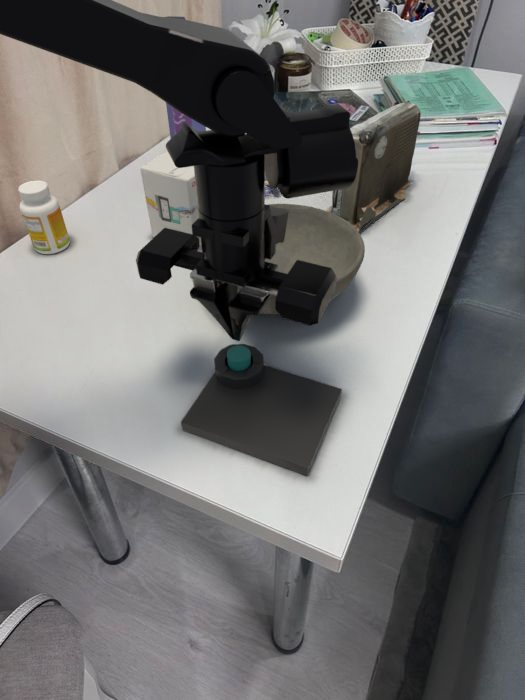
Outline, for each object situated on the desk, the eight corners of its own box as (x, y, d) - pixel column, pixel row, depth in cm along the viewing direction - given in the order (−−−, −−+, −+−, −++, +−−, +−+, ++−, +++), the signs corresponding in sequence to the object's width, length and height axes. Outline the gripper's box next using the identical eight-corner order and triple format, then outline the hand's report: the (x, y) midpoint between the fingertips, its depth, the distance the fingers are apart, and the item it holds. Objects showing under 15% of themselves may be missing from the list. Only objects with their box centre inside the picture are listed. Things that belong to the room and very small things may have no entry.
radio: (389, 171, 97) (405, 86, 87) (430, 185, 93) (451, 98, 82) (312, 218, 85) (319, 126, 75) (355, 237, 81) (369, 142, 70)
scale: (180, 429, 54) (176, 411, 52) (229, 356, 62) (227, 338, 60) (307, 476, 50) (309, 458, 48) (342, 392, 58) (345, 374, 56)
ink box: (182, 213, 86) (173, 144, 78) (225, 226, 83) (221, 155, 75) (150, 238, 81) (138, 166, 73) (196, 252, 78) (188, 179, 70)
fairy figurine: (290, 146, 97) (309, 166, 87) (290, 172, 100) (308, 194, 90) (230, 152, 95) (243, 174, 86) (232, 178, 98) (245, 202, 89)
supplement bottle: (66, 232, 82) (49, 174, 75) (73, 249, 78) (55, 190, 72) (31, 241, 80) (10, 182, 73) (37, 258, 77) (15, 198, 70)
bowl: (286, 368, 60) (288, 317, 55) (171, 293, 71) (163, 244, 65) (385, 287, 71) (396, 238, 66) (274, 233, 82) (275, 186, 76)
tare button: (223, 367, 57) (222, 357, 56) (233, 352, 59) (233, 342, 58) (244, 374, 56) (244, 364, 55) (254, 358, 58) (254, 349, 57)
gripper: (362, 184, 46) (344, 315, 57) (182, 149, 52) (197, 275, 63) (323, 246, 39) (310, 383, 50) (118, 199, 44) (147, 332, 55)
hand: (237, 337), depth 55 cm, fingers closed
